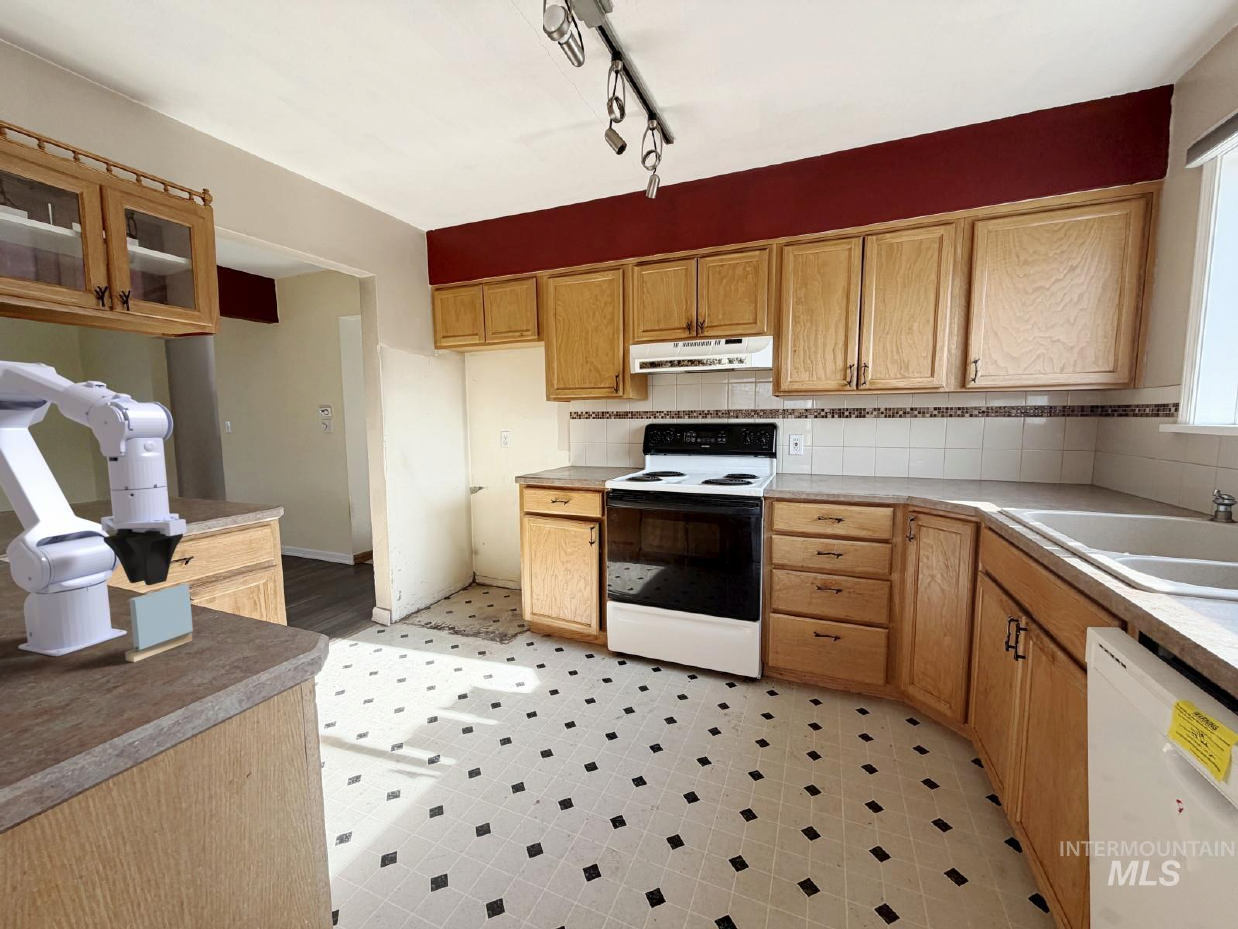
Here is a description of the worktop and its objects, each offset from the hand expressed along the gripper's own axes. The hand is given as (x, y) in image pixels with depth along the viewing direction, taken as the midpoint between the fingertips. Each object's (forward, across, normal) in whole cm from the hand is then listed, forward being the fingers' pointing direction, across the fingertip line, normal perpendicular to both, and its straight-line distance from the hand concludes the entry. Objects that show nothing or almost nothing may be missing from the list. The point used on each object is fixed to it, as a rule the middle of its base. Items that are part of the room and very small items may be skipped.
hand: (148, 582), depth 70 cm
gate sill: (+10, -1, 0) cm, 10 cm away
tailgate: (+8, -2, 0) cm, 9 cm away
